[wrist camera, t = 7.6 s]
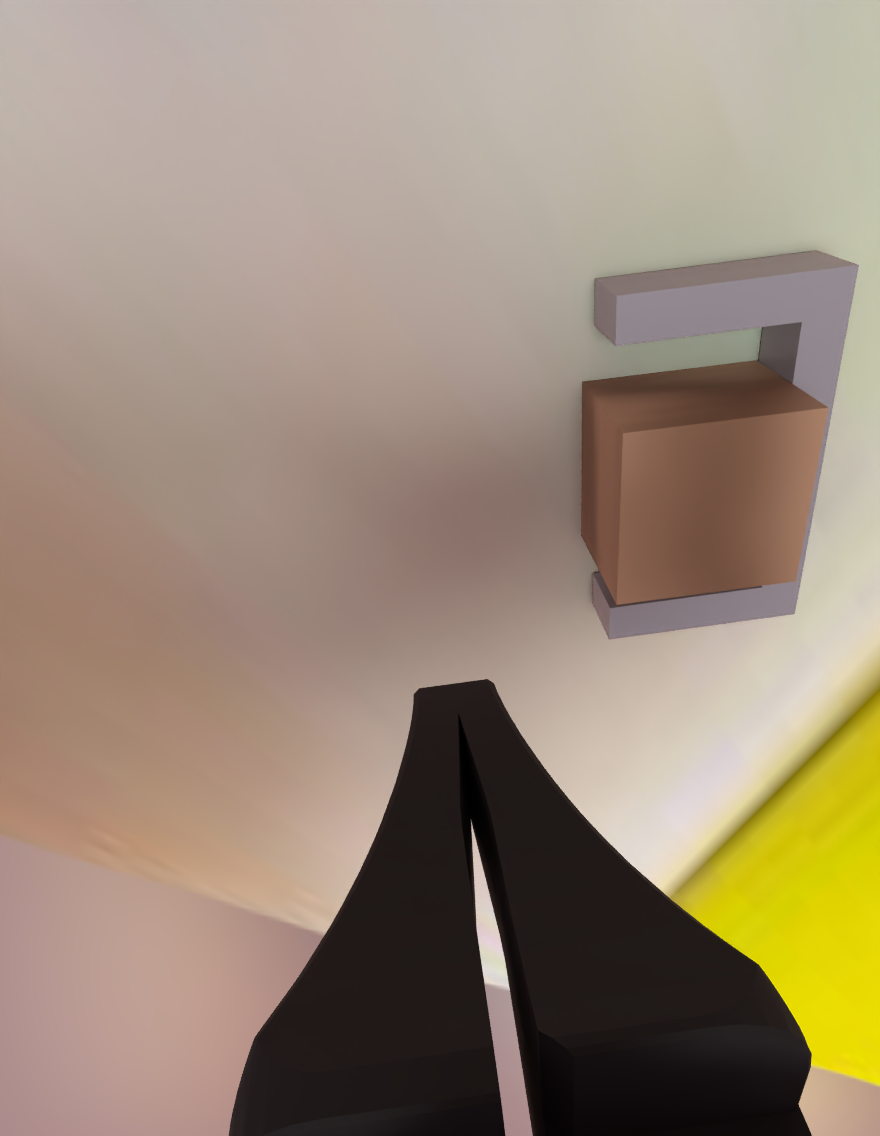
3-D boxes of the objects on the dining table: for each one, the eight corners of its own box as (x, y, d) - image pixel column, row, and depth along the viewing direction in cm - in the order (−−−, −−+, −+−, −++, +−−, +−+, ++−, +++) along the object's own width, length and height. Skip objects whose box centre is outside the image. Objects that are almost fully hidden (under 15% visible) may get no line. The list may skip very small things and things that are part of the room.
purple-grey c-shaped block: (592, 603, 25) (609, 639, 24) (594, 279, 20) (616, 295, 18) (765, 579, 25) (794, 613, 24) (816, 250, 20) (858, 265, 18)
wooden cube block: (580, 533, 24) (616, 604, 21) (581, 380, 21) (622, 433, 18) (734, 513, 24) (795, 581, 21) (754, 359, 22) (828, 407, 18)
